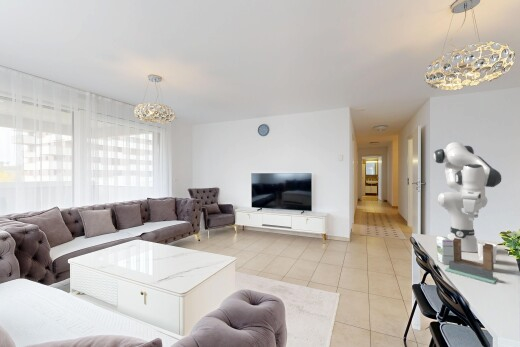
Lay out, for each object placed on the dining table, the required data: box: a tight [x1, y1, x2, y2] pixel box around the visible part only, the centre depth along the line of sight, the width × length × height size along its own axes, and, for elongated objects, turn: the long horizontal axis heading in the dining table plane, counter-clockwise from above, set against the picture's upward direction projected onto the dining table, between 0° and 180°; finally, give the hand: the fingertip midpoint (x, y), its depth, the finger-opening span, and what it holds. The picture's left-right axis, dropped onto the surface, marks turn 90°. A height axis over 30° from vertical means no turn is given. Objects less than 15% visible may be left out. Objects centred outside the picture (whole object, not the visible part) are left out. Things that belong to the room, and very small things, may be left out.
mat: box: [444, 266, 498, 285], centre depth 112 cm, size 9×18×1 cm, turn 36°
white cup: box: [477, 241, 498, 264], centre depth 128 cm, size 8×8×10 cm
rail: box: [448, 260, 494, 280], centre depth 112 cm, size 3×16×4 cm, turn 36°
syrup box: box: [436, 236, 454, 266], centre depth 126 cm, size 6×6×14 cm
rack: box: [453, 238, 495, 271], centre depth 122 cm, size 7×16×13 cm, turn 36°
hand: (473, 218), depth 119 cm, fingers open, 8 cm apart
